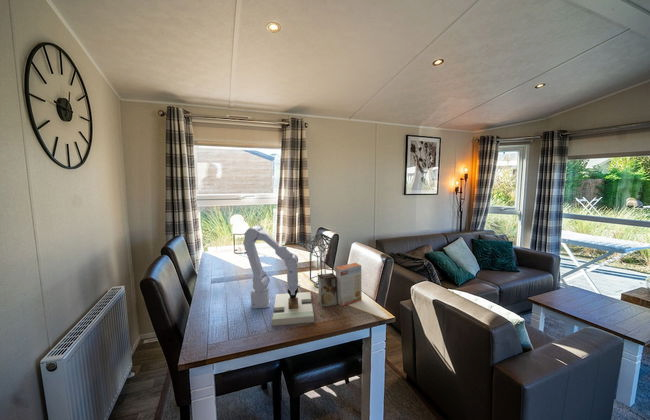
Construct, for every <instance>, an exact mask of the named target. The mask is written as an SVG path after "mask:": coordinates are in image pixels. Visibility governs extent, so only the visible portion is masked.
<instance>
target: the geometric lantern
mask: <svg viewBox="0 0 650 420" xmlns="http://www.w3.org/2000/svg"><path fill="white" fill-rule="evenodd" d="M311 239H312V240H311ZM336 242H337V240H336V239H333V238H332V237H330V236H329V235H326V234H324V233H322V232H318V233H317V234H316V235H313V236H312V237H310V238H309V239H307V240H305V241H304V243H305V245H307V247H308V248H309V280H310V282H311V283H313V285H314V287H315V288H318V280H317V281H314V280H313V279H314V278H318V275H316V276H312V259H313V258H312V256H314V257H316V258H317V259H316V263H317V270H319V263H320V275H321V274H323V268H322V267H324V269H326V262H325V261H326V260H325V257H326V256H327V257H328V256H330V265H331V273H333V274H334V275H335V271H334V264H333V252H332V250H331V247H332V246H333V245H334V244H335V243H336ZM321 243H322V244H321ZM323 246H324V247H323ZM327 246H328V247H327ZM320 247H321V248H322V249H323V250H321V248H320ZM315 248H318V249H319V250H317V251H316V250H315ZM328 250H329V251H328ZM317 252H320V255H318V253H317ZM325 252H327V253H329V254H325ZM313 253H315V254H316V255H315V254H313ZM322 254H323V255H322ZM322 257H323V259H322ZM319 260H320V261H319ZM322 260H323V261H322ZM323 265H324V266H323ZM326 272H327V270H324V274H327V273H326Z"/></svg>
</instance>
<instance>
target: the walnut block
mask: <svg viewBox="0 0 650 420" xmlns="http://www.w3.org/2000/svg"><path fill="white" fill-rule="evenodd" d="M288 306H289V309H297V308H298V298H289V299H288Z"/></svg>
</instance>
